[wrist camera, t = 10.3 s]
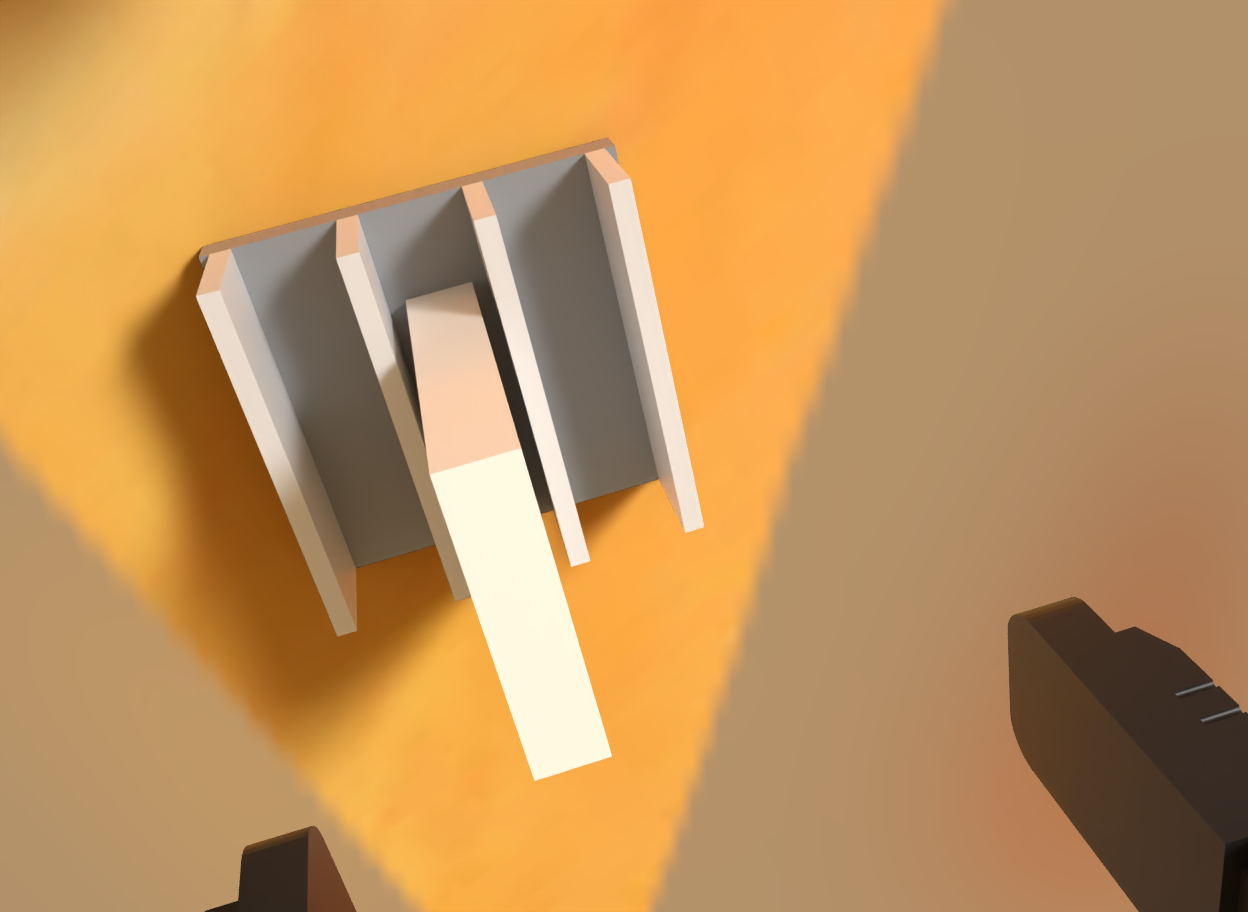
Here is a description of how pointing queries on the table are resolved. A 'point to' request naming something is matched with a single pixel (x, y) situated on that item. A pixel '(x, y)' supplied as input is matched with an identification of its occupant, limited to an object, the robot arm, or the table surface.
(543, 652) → the cream upright slab
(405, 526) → the dish rack
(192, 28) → the table surface
